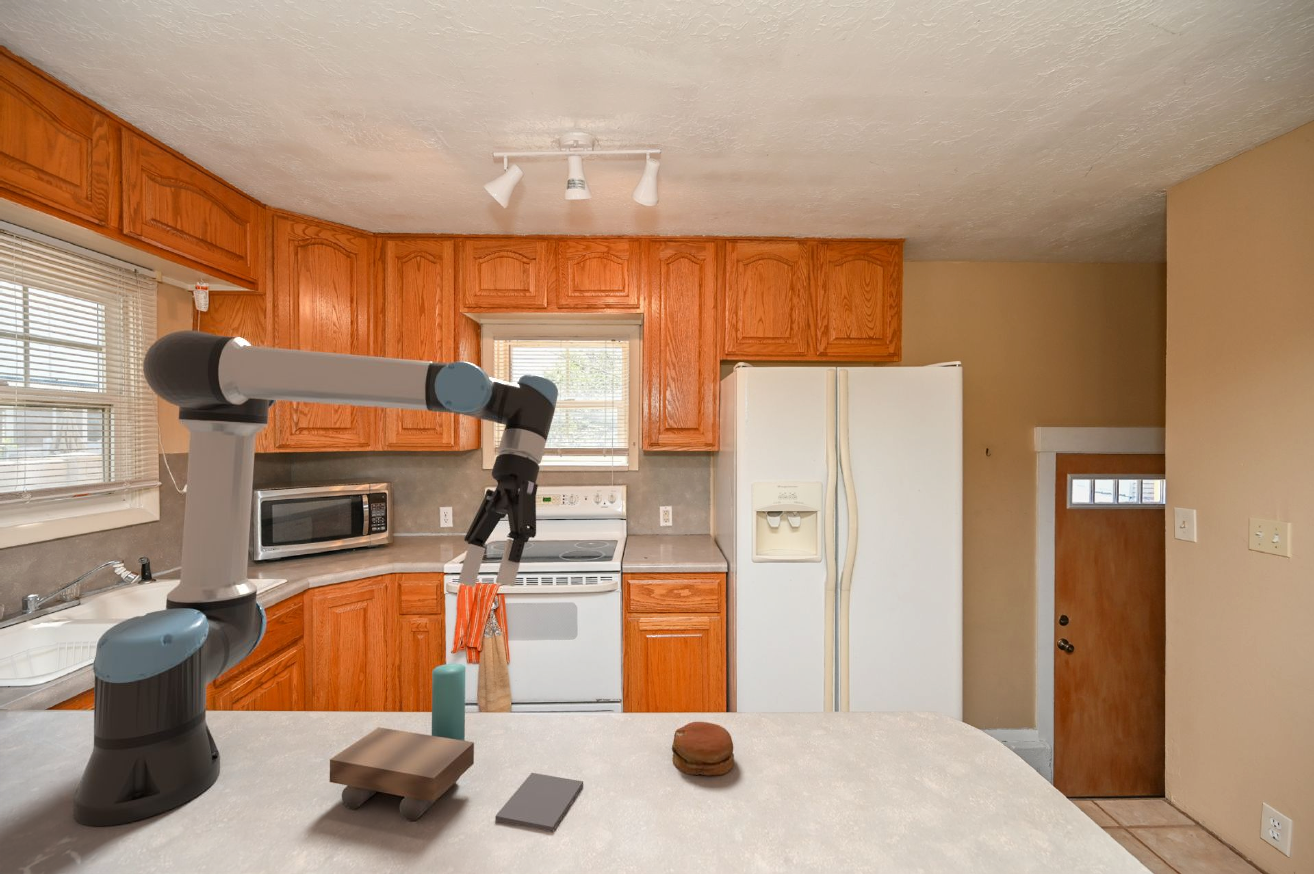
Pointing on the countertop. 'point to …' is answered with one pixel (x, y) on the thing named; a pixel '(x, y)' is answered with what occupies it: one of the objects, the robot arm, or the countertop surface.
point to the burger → (703, 749)
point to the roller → (448, 701)
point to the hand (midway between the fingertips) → (484, 584)
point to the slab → (400, 768)
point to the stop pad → (540, 802)
